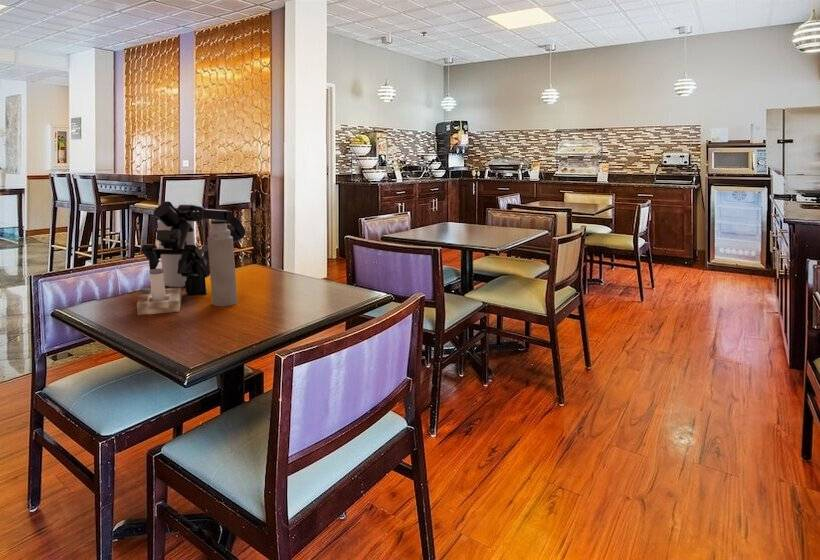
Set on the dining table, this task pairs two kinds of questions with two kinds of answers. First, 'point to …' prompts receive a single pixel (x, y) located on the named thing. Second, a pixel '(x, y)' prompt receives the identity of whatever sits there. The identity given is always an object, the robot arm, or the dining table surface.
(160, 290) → the plug
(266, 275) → the dining table surface
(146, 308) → the socket board
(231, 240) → the thermos bottle
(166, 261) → the cylinder vase
